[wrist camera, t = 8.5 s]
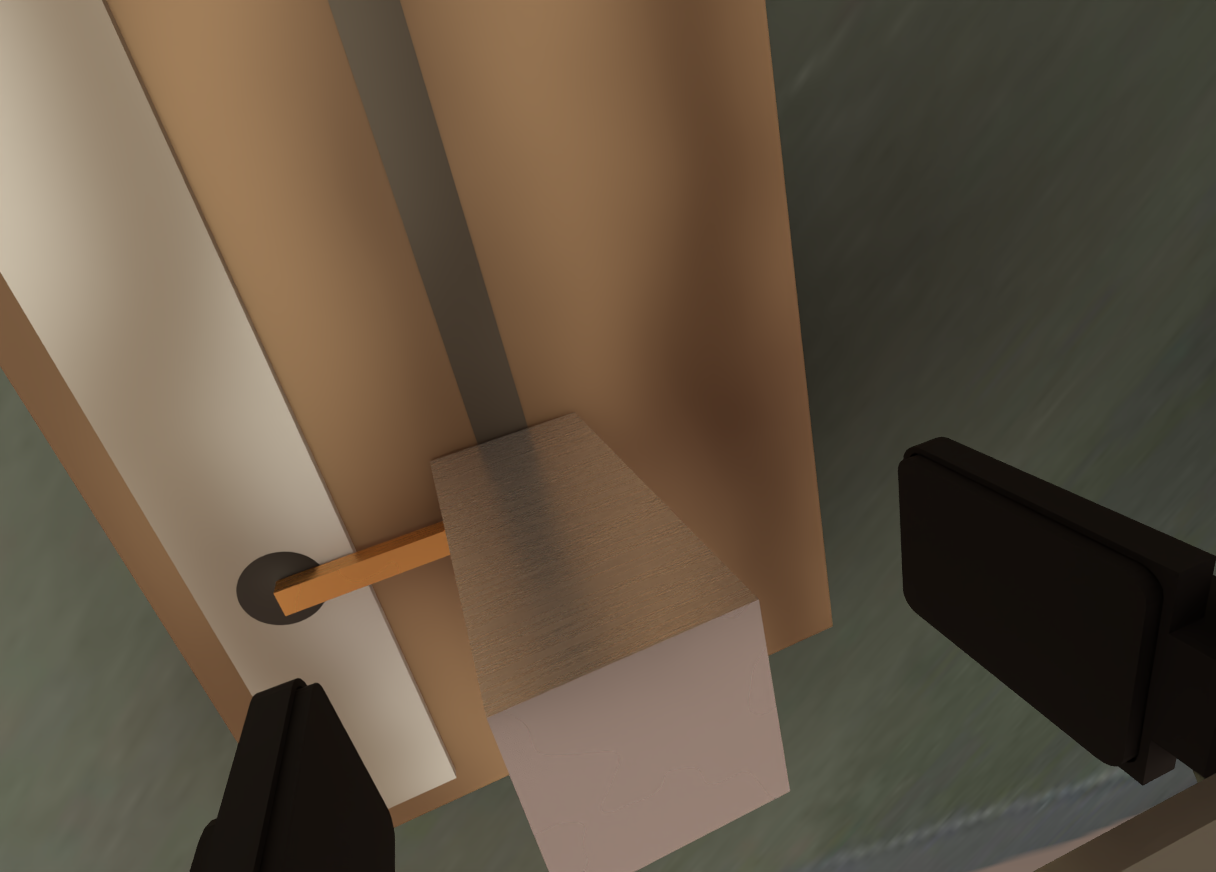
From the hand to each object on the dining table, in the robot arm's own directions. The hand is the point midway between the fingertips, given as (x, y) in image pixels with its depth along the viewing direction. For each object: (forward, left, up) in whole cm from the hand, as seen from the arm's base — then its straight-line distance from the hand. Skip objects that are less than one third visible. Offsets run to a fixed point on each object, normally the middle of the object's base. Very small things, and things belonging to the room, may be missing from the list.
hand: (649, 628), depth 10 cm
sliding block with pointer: (+3, 0, -6) cm, 7 cm away
